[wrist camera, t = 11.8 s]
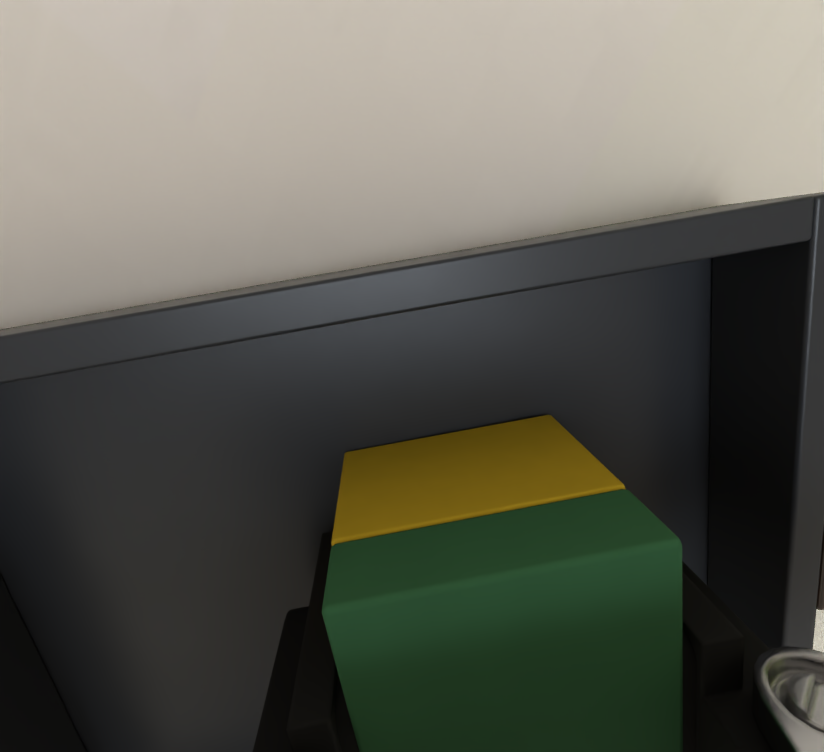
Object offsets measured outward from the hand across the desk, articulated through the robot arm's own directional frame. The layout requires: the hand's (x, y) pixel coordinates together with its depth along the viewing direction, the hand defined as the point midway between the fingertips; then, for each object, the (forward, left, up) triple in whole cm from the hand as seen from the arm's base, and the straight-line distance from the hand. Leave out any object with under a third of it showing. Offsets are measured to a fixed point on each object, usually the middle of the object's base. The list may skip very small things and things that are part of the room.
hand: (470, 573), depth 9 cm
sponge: (0, 0, 0) cm, 0 cm away
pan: (-2, 0, -1) cm, 2 cm away
